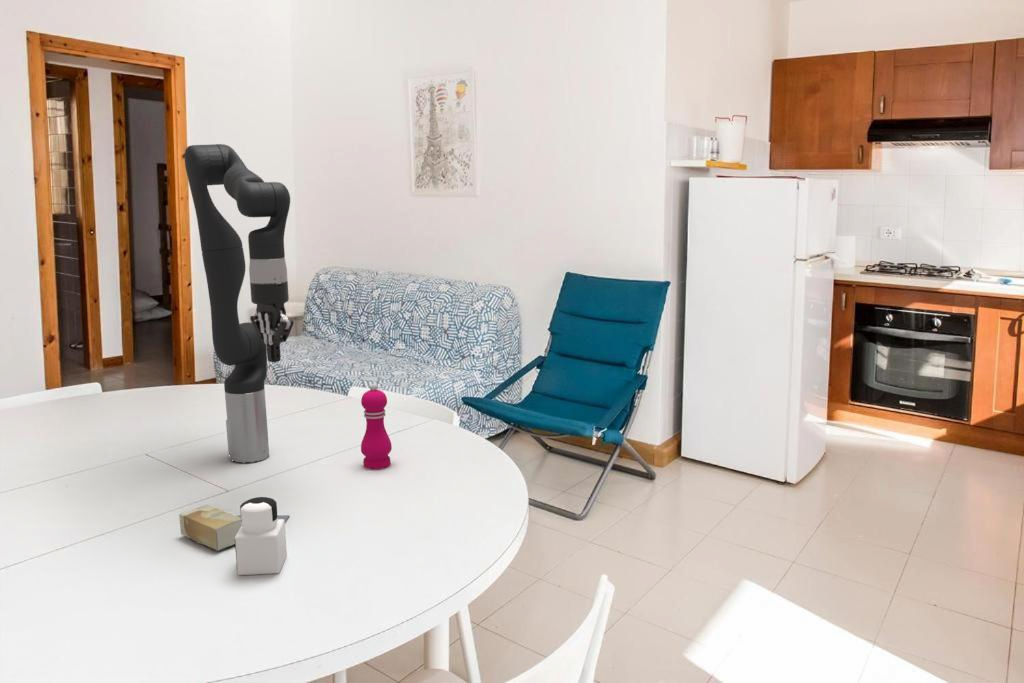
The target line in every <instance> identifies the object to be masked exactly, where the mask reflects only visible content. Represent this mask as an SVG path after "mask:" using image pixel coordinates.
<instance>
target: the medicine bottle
mask: <svg viewBox="0 0 1024 683" xmlns="http://www.w3.org/2000/svg"><path fill="white" fill-rule="evenodd" d="M239 511H240V512H239V513H240V516H241V525H242V526H241V528H240V529H239V531H238V533H237V534H236V536H235V544H234V546H235V559H236V572H237V575H238V576H253V575H254V576H255V575H274V574H275V575H276V574H277V575H278V574H279V573H281V570H282V567H283V565H284V563H285V561H286V558H287V556H288V550H287V539H286V538H287V536H286V523H285V521H284V519H278V517H277V515H278V506H277V501H276V500H275V499H274V498H271V497H266V496H257V497H253V498H249V499H247V500H245V501H244V502H242V503H241V505H240V506H239Z"/></svg>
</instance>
